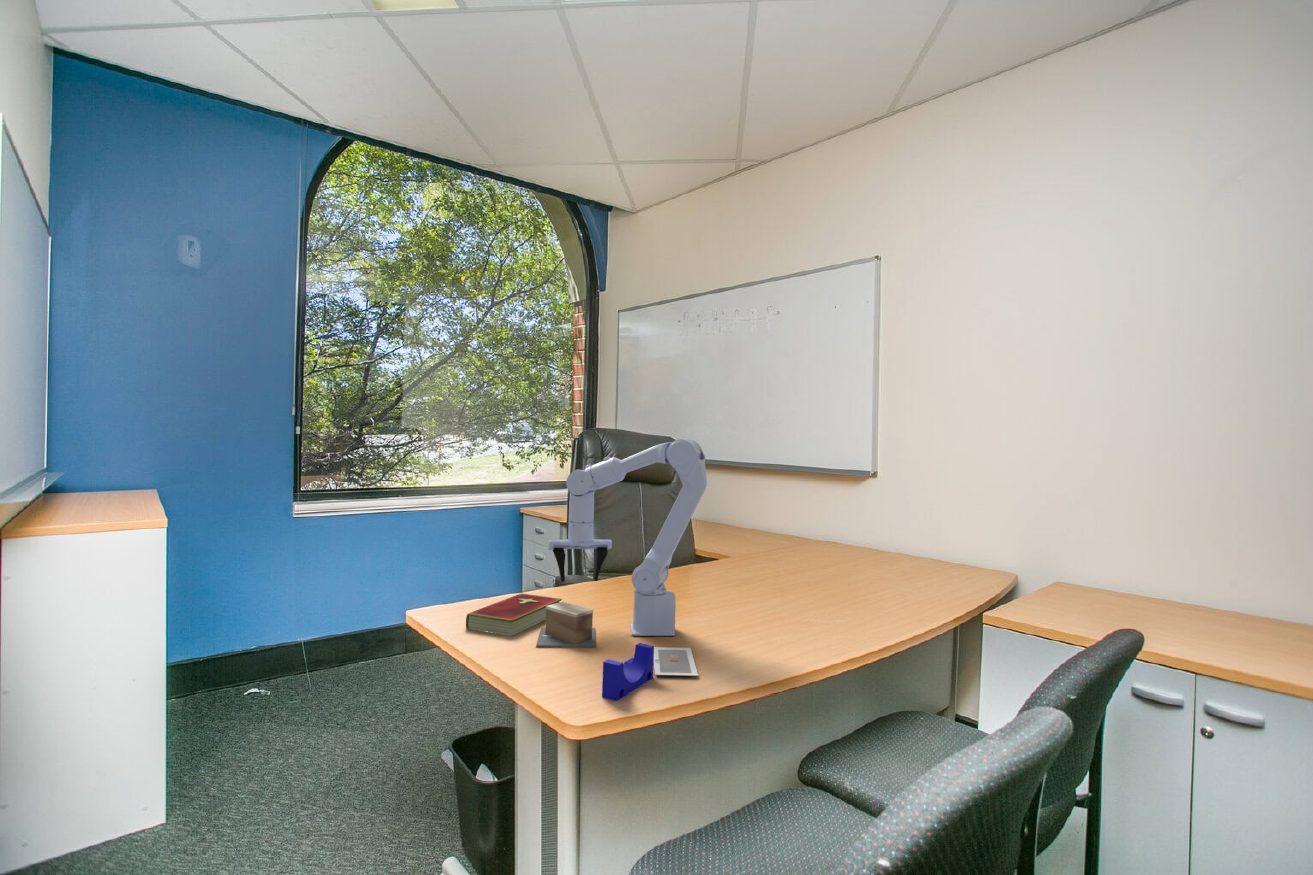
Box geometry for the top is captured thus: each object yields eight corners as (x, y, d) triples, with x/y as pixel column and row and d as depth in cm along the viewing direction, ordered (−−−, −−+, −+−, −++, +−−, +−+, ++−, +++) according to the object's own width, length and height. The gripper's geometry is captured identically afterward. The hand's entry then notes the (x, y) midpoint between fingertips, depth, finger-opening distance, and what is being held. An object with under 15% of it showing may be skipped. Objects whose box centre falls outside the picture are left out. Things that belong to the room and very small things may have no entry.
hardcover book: (465, 631, 138) (466, 611, 138) (519, 608, 157) (519, 591, 157) (511, 638, 133) (512, 619, 133) (561, 614, 153) (561, 597, 153)
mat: (595, 629, 140) (595, 627, 140) (595, 647, 128) (595, 644, 128) (540, 629, 139) (540, 627, 139) (536, 647, 127) (536, 644, 127)
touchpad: (690, 653, 128) (690, 642, 128) (698, 681, 113) (698, 669, 113) (652, 652, 128) (652, 641, 128) (654, 680, 113) (655, 668, 113)
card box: (562, 628, 138) (563, 601, 138) (592, 638, 133) (593, 609, 133) (545, 634, 134) (545, 605, 134) (574, 644, 129) (575, 614, 129)
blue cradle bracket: (631, 673, 115) (632, 641, 115) (653, 679, 113) (654, 645, 113) (594, 695, 104) (595, 659, 104) (617, 702, 102) (618, 665, 102)
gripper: (551, 523, 139) (549, 585, 139) (615, 523, 143) (613, 583, 143) (548, 519, 146) (546, 578, 146) (609, 519, 150) (607, 576, 150)
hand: (579, 580), depth 145 cm, fingers open, 7 cm apart
